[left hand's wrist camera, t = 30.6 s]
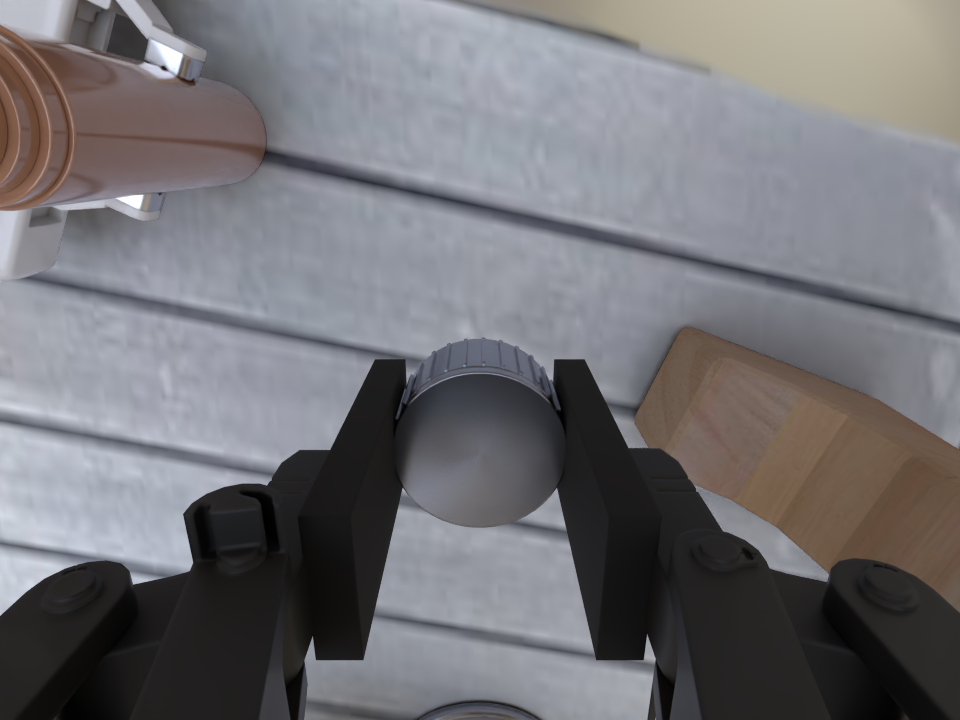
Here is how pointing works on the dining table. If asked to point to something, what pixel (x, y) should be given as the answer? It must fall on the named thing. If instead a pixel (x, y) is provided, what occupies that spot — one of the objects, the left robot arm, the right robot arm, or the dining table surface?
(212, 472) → the dining table surface
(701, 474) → the decorative block
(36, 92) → the bottle
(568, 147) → the dining table surface
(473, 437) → the cap
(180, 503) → the dining table surface
